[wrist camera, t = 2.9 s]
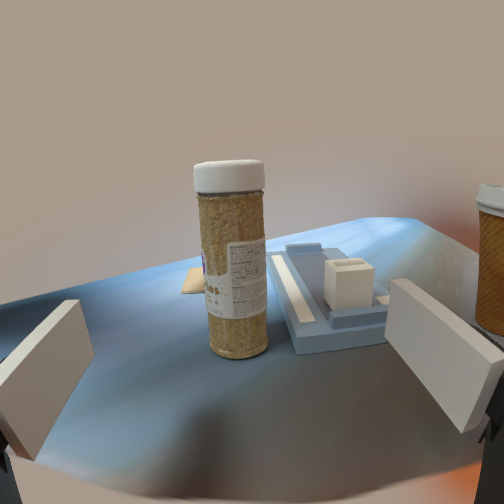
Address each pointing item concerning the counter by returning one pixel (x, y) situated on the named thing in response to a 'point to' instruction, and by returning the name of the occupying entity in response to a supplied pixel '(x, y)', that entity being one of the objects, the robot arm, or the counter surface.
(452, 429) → the counter surface
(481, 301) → the disposable coffee cup
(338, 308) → the ivory tab
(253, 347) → the sprinkles bottle
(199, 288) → the cork coaster
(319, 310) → the switch board
